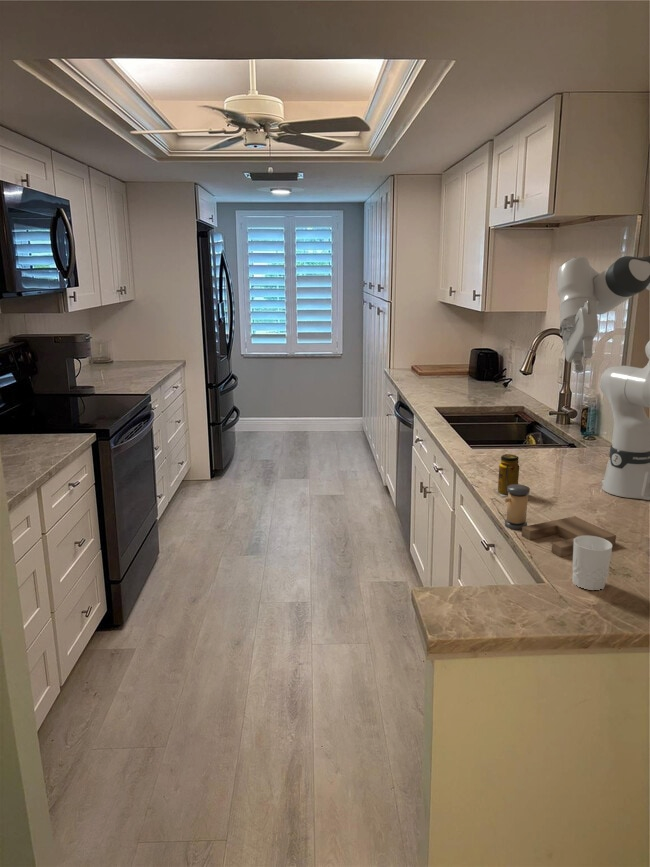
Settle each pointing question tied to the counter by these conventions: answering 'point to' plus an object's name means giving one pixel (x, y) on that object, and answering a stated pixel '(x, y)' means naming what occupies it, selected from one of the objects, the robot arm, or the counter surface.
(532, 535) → the notched board
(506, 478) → the condiment
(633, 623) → the counter surface
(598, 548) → the white cup
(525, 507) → the tan grey capped cylinder
